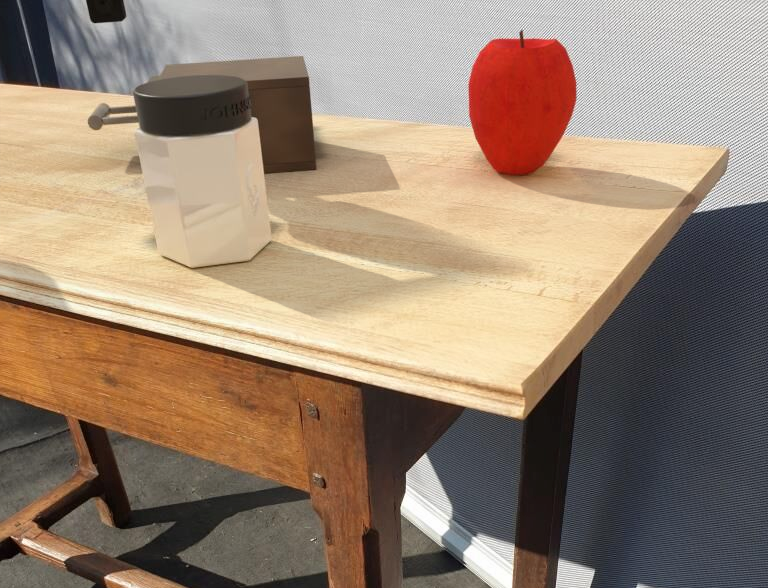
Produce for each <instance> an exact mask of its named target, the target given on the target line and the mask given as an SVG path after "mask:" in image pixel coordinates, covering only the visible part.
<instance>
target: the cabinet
mask: <svg viewBox="0 0 768 588" xmlns="http://www.w3.org/2000/svg"><path fill="white" fill-rule="evenodd" d="M194 75H226V76H235V77H239V78H242V79H244V80H245V81H246V82H247V84H248V92H249V94H250V100H251V107H250V109H251V117H255V118H257V120H258V127H259V136H260V144H261V153H262V161H263V169H264V174H272V173H273V174H274V173H283V172H284V173H285V172H299V171H300V172H301V171H311V170H317V156H316V145H315V143H316V142H315V133H314V131H315V130H314V121H313V109H312V98H311V97H312V96H311V86H310V85H311V84H310V76H309V73H308V69H307V64H306V61H305V58H304V56H303V55H297V56H296V55H295V56H284V57H283V56H281V57H279V56H278V57H265V58H264V57H263V58H251V59H236V60H235V59H233V60H217V61H205V62H203V61H202V62H190V63H189V62H187V63H186V62H185V63H173V64H171V63H169V64H165V66H164V67H163V69H162V71H161V73H160V74H159V75H158V76H159V78H158V80H161V79H167V78H174V77H182V76H194Z"/></svg>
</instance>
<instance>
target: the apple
mask: <svg viewBox="0 0 768 588" xmlns="http://www.w3.org/2000/svg"><path fill="white" fill-rule="evenodd" d="M575 74H576V73H575V70H574V66H573V63H572V61H571V58H570V55H569V53H568V51H567V48H566V47H565V46H564V45H563V44H562V43H561V42H560V41H559V40H558V39H557V38H549V39H547V38H546V39H545V38H524V29H521V30H520V31H519V38H493V39H491V40H490V41H489V42H488V43H487V44H486V45H485V46H484V47H483V48H482V49H481V50H480V51H479V53H478V55H477V56H476V59H475V61H474V63H473V64H472V67H471V72H470V76H469V80H468V87H467V89H468V116H469V119H470V123H471V127H472V131H473V134H474V138H475V140H476V142H477V144H478V146H479V147H480V150H481V152H482V153H483V155H484V157H485V159H486V161H487V162H488V163H489V165H490V166H491V168H492V169H493V170H494V171H496V172H498V173H500V174H503V175H511V176H524V175H525V176H526V175H530V174H534V173H535V171H537V170H539V169H540V168H542V167H543V166H544V165H545V163H546V162H547V161H548V160H549V159H550V158H551V156H552V154H553V152H554V150H555V149H556V148H557V146H558V144H559V143H560V141H561V139H562V138H563V137H564V135H565V132H566V130H567V128H568V127H569V124H570V121H571V119H572V117H573V115H574V114H573V113H574V110H575V107H576V103H577V93H578V92H577V91H578V90H577V79H576V75H575Z"/></svg>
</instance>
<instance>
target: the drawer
mask: <svg viewBox="0 0 768 588" xmlns="http://www.w3.org/2000/svg"><path fill="white" fill-rule="evenodd" d="M159 76H160V75H151V76H150V77H149V79H148V80H147V82H146V83H148V82H152V81H156V80H158V78H159ZM122 114H135V115H122ZM111 115H121V116H111ZM124 124H139V121H138V116H137V111H136V106H135V105H122V106H109V104H107V103H105V102H101V103H99V104H98V106H96V108H95V109H94V111H92V112H91V114H90V116H89V117H88V118H87V125H88V127H89V128H90V129H91V130H92V131H99V130H101V129H102V128H103V126H111V125H124Z"/></svg>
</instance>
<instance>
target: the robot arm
mask: <svg viewBox="0 0 768 588" xmlns="http://www.w3.org/2000/svg"><path fill="white" fill-rule="evenodd" d="M85 3H86V7H87V11H88V12H87V13H88V16H89V20H90V22H91V23H93V24H105V23H106V24H107V23H120V22H124V20H126V18H127V12H126V6H125V1H124V0H85Z"/></svg>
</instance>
